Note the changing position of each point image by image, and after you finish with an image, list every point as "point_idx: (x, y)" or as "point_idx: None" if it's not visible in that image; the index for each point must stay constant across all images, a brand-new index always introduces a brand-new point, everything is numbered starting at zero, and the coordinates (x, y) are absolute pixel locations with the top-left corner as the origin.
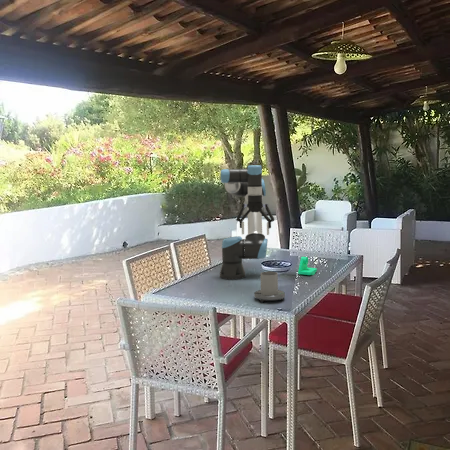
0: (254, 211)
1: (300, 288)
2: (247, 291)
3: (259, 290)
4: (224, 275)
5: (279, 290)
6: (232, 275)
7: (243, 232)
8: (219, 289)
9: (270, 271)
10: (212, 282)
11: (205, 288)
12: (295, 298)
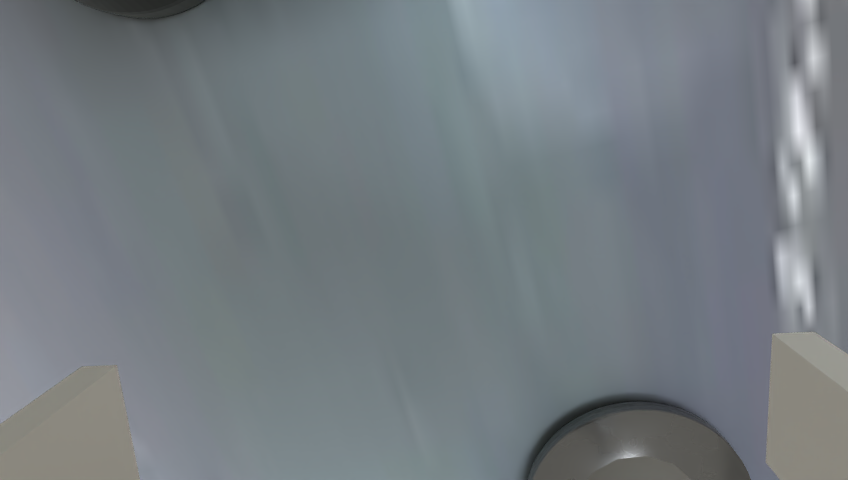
0: None
1: (837, 158)
2: (426, 340)
3: (550, 461)
4: (88, 5)
5: (704, 432)
6: (165, 4)
7: (106, 465)
8: (207, 334)
9: None
10: (63, 150)
11: (97, 331)
12: None
